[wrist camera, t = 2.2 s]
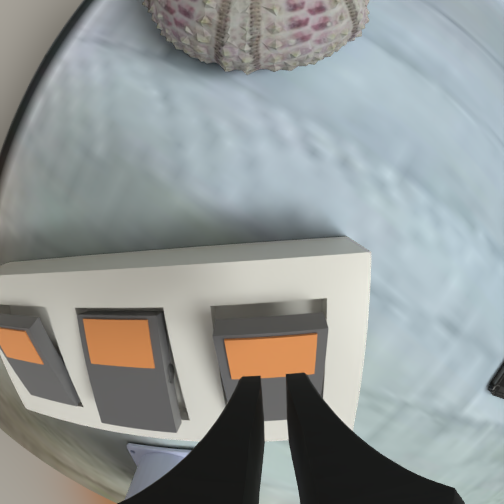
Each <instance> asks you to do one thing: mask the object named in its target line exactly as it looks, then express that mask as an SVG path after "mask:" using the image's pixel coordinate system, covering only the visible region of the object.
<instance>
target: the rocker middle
mask: <svg viewBox="0 0 504 504" xmlns="http://www.w3.org/2000/svg"><path fill="white" fill-rule="evenodd" d="M77 320H78V326H79V332H80V338H81V343H82V348H83V353H84V358H85V362H86V367H87V371H88V375H89V380H90V384H91V387H92V391H93V395H94V399H95V402H96V406H97V409H98V412H99V416H100V419H101V422H102V423H105V424H110V425H116V426H122V427H128V428H135V429H143V430H151V431H160V432H171V433H177V432H178V429H179V427H180V425H181V423H182V421H181V416H180V411H179V406H178V400H177V395H176V389H175V384H174V367H173V365H172V363H171V359H170V352H169V345H168V338H167V331H166V323H165V315H164V311H86V312H83V313H80V314H78V315H77Z"/></svg>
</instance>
